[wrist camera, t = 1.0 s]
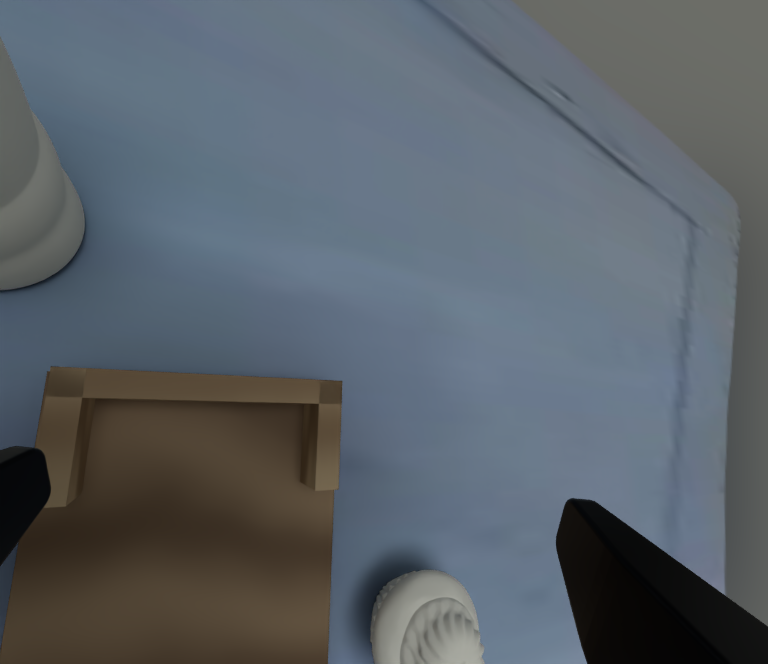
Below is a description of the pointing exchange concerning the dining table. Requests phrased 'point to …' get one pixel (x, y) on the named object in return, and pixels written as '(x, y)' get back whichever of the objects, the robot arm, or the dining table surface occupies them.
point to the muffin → (425, 621)
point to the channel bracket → (179, 521)
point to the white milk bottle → (32, 193)
